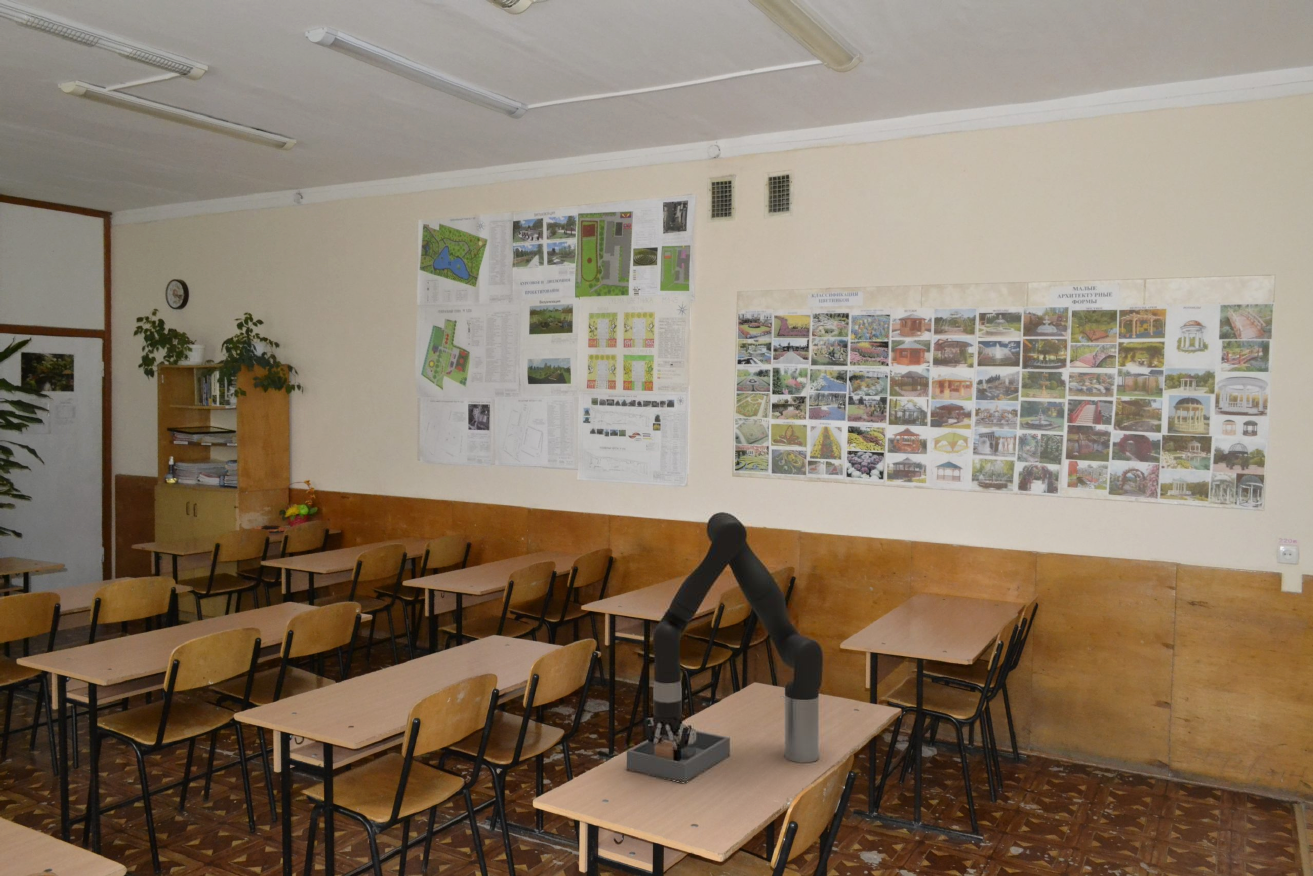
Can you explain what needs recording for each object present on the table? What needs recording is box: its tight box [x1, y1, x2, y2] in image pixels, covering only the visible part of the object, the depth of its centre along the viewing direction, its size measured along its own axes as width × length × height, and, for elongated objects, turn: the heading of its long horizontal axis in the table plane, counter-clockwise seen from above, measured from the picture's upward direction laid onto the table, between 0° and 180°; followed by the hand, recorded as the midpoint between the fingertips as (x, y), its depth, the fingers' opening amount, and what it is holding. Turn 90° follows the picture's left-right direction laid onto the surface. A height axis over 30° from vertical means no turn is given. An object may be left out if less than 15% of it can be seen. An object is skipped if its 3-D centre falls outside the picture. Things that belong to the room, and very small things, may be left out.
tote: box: [626, 728, 731, 784], centre depth 256 cm, size 24×18×5 cm
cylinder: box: [679, 727, 697, 759], centre depth 259 cm, size 5×5×7 cm
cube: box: [654, 740, 680, 762], centre depth 251 cm, size 5×5×5 cm
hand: (667, 760), depth 251 cm, fingers closed on cube, 4 cm apart
